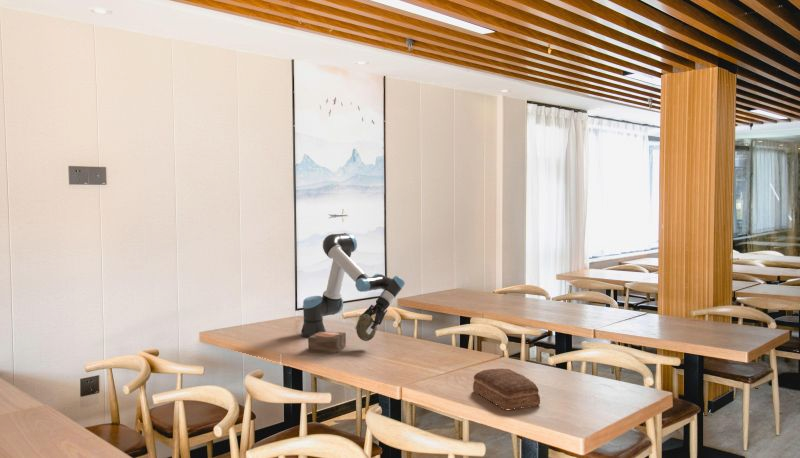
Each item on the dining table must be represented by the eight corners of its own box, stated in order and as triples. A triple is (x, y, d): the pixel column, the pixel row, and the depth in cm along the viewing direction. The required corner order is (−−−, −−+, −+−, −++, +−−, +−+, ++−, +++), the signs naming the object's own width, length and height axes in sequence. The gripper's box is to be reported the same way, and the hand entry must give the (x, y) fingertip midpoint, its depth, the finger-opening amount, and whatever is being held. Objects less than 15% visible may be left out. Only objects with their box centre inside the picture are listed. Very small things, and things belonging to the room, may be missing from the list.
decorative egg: (352, 340, 353) (352, 313, 352) (367, 337, 360) (367, 311, 359) (364, 344, 345) (364, 316, 344) (379, 340, 352) (379, 313, 351)
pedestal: (319, 345, 364) (318, 330, 364) (345, 346, 360) (345, 332, 360) (308, 352, 349) (308, 337, 348) (336, 353, 345) (335, 338, 344)
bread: (505, 387, 280) (505, 361, 280) (542, 407, 253) (542, 378, 252) (470, 391, 274) (470, 365, 274) (505, 412, 247) (504, 383, 246)
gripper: (400, 307, 351) (377, 339, 343) (377, 301, 370) (354, 331, 362) (392, 298, 348) (369, 330, 339) (369, 293, 366) (346, 323, 358)
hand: (361, 331), depth 351 cm, fingers closed on decorative egg, 11 cm apart
